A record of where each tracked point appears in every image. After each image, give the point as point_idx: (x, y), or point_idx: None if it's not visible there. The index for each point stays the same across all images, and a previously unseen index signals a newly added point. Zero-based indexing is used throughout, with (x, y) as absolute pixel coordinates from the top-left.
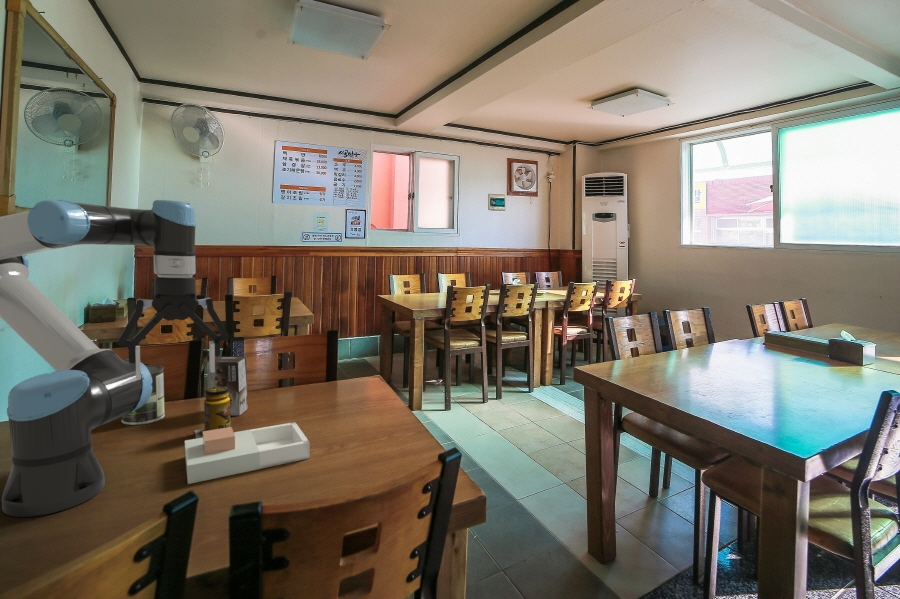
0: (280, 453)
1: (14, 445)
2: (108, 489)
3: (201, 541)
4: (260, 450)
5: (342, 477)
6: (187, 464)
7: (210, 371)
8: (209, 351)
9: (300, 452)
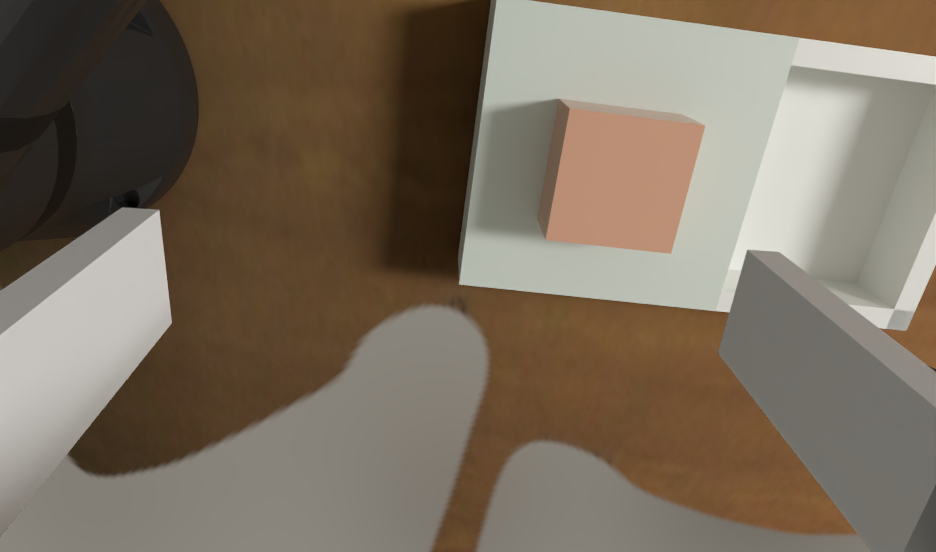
0: None
1: None
2: (216, 142)
3: (437, 540)
4: (723, 302)
5: None
6: (461, 275)
7: (727, 321)
8: (854, 357)
9: None
